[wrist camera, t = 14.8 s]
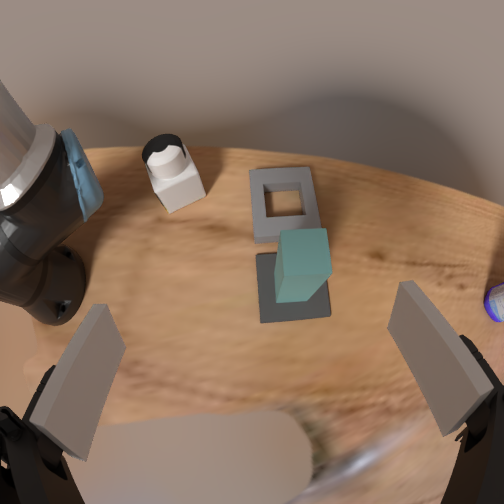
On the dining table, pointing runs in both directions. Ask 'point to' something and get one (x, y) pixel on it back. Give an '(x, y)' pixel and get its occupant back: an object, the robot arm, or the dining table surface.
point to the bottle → (495, 302)
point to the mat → (287, 310)
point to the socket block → (282, 181)
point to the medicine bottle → (172, 172)
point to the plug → (301, 264)
